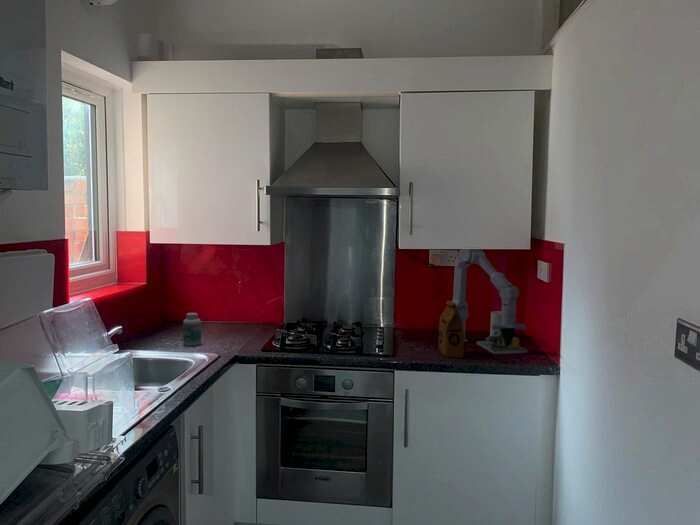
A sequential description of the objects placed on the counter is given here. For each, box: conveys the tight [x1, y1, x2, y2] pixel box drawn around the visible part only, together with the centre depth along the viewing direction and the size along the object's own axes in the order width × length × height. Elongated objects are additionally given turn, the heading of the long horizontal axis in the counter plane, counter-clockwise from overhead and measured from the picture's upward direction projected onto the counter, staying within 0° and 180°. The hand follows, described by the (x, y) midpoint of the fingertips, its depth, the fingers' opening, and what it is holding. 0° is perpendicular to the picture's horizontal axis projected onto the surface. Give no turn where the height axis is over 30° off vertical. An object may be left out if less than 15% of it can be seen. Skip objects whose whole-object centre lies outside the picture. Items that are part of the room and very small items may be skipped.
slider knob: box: [509, 336, 520, 348], centre depth 228 cm, size 3×3×4 cm
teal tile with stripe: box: [485, 332, 502, 341], centre depth 239 cm, size 11×4×1 cm, turn 100°
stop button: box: [488, 335, 497, 343], centre depth 232 cm, size 4×4×2 cm
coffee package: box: [437, 299, 465, 359], centre depth 221 cm, size 10×12×22 cm
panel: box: [476, 331, 528, 355], centre depth 233 cm, size 15×18×6 cm
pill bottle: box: [182, 312, 202, 347], centre depth 231 cm, size 8×7×14 cm
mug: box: [489, 310, 502, 336], centre depth 254 cm, size 12×8×12 cm
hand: (507, 345), depth 227 cm, fingers closed
